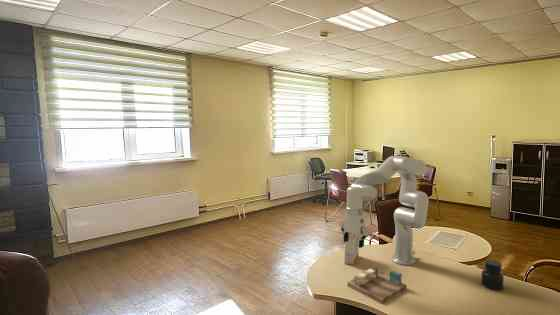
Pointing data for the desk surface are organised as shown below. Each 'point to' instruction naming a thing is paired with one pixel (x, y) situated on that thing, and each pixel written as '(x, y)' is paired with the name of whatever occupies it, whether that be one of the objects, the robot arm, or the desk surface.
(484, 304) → the desk surface
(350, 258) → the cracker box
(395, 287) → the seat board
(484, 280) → the ink bottle
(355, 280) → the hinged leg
